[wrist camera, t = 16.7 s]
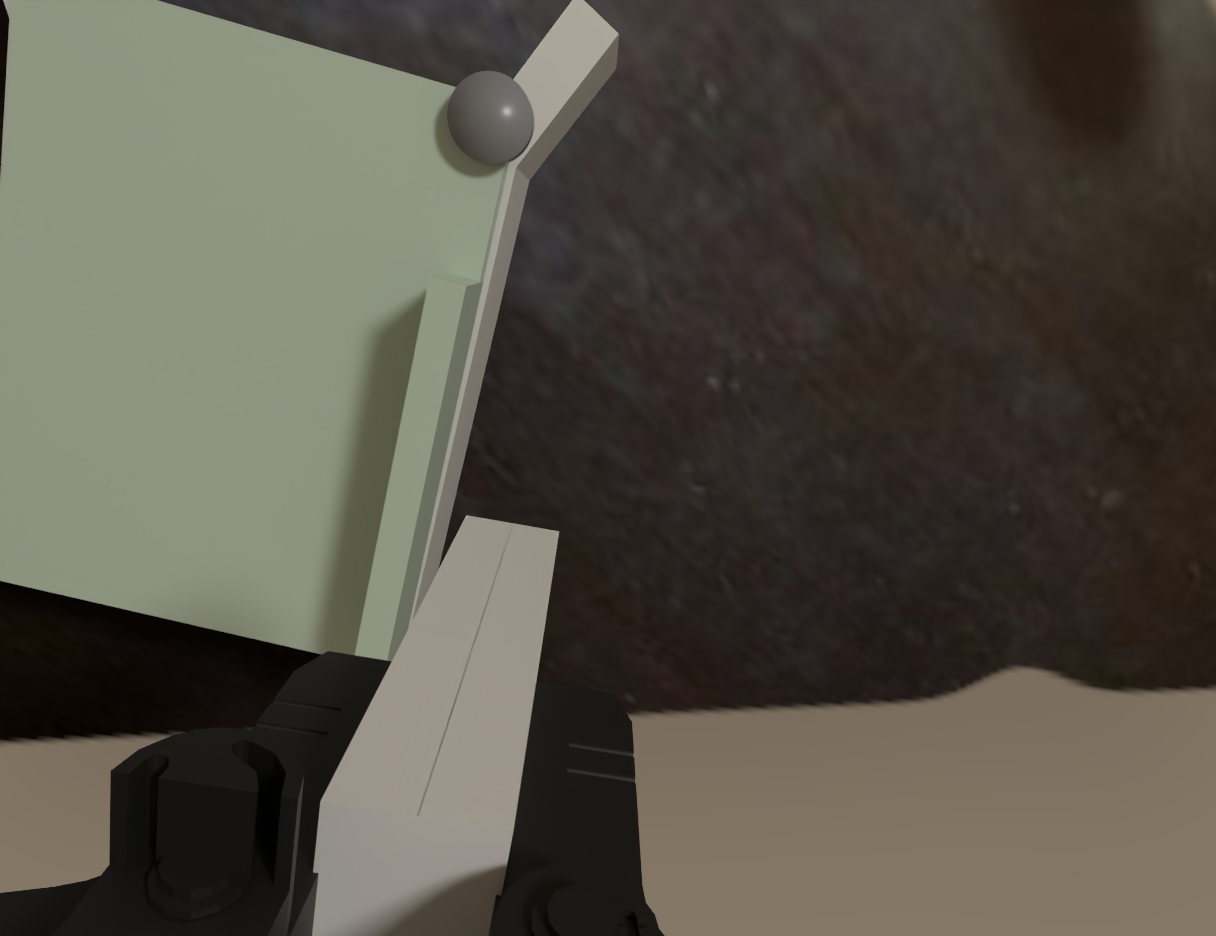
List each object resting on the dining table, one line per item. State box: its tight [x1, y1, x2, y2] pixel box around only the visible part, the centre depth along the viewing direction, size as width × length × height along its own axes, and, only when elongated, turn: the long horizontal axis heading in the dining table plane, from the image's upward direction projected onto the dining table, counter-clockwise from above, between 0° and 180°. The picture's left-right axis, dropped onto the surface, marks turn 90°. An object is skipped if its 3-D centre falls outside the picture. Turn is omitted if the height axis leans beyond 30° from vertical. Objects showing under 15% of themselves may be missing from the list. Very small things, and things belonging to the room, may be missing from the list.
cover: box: [0, 0, 534, 661], centre depth 23 cm, size 15×20×4 cm
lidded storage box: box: [0, 0, 619, 629], centre depth 27 cm, size 22×19×4 cm
